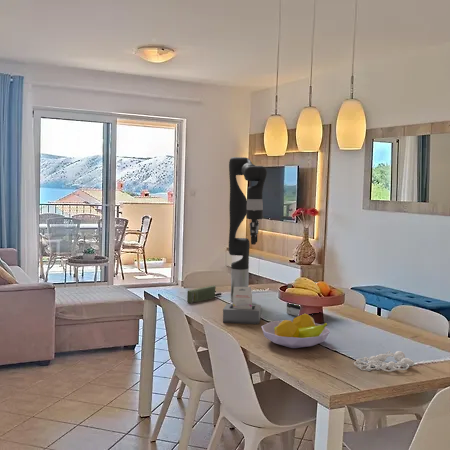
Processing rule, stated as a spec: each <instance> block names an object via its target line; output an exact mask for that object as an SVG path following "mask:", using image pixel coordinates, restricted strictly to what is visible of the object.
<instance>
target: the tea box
mask: <svg viewBox="0 0 450 450" xmlns="http://www.w3.org/2000/svg"><path fill="white" fill-rule="evenodd" d="M314 282H315V283H318V282H316V281H314ZM293 283H294V282H291V283H287V289H288V288H291V287H292V286H293V285H292V284H293ZM299 310H300V306H299V305H294V304H289V303H287V302H286V310H285V311H286V312H285V313H286V314H288V315H291V316H295V317H298V314H299Z"/></svg>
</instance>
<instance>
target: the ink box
mask: <svg viewBox="0 0 450 450" xmlns="http://www.w3.org/2000/svg"><path fill="white" fill-rule="evenodd" d="M239 289H245V291H239ZM233 290H234V293H233V301H232V304H233V309H252V305H253V291H252V287H251V286H248V287H234V288H233Z"/></svg>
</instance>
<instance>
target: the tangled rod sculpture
mask: <svg viewBox="0 0 450 450" xmlns="http://www.w3.org/2000/svg"><path fill="white" fill-rule="evenodd" d="M388 357H393V359H394V360H395V361H392V360H390V361H389V362H386V361H387V358H388ZM361 360H362V361H361ZM353 364H354V366H355V367H357V369H358V370H359V369H360V370H361V371H366V372H370V371H371V370H378V371H379V370H382V371H385V372H394V371H406V370H408V369H409V368H410V367H412V366H414V365H415V362H414V361H413V360H412V359H411V358H408V357H406V355H405V352H403V351H401V350H397V351H395V353H393V352H391V350H388V351H387V352H386V353H380V354H377V355H376V356H375V355H372V356H370V357H367V356H364V357H362V358H357V359H356V361H354V362H353ZM363 367H365V368H363ZM401 367H402V368H401ZM387 368H388V369H387Z"/></svg>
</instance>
